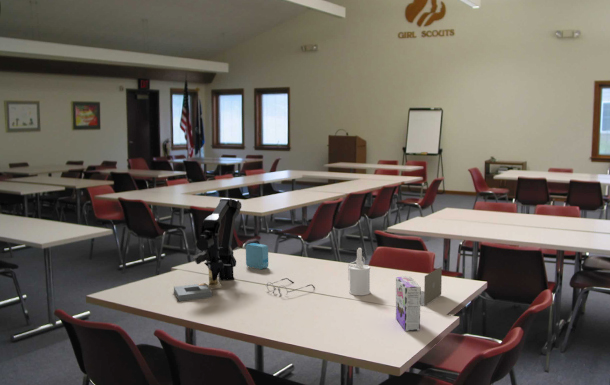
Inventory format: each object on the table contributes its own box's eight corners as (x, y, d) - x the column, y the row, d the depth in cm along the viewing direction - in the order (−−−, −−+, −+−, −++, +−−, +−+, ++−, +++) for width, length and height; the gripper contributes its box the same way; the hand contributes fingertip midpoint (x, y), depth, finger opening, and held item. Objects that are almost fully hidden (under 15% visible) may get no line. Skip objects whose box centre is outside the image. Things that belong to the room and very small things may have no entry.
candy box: (395, 318, 215) (395, 276, 213) (410, 317, 215) (410, 275, 213) (404, 331, 201) (404, 286, 199) (420, 331, 202) (421, 286, 200)
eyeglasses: (262, 291, 252) (262, 280, 252) (291, 283, 266) (291, 272, 265) (288, 299, 242) (288, 287, 241) (317, 289, 255) (317, 278, 255)
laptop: (414, 291, 251) (414, 262, 249) (441, 296, 243) (442, 266, 242) (396, 302, 236) (397, 271, 234) (425, 307, 229) (425, 276, 227)
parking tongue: (218, 284, 263) (218, 281, 263) (221, 287, 258) (221, 284, 257) (205, 286, 261) (205, 282, 261) (208, 289, 255) (208, 286, 255)
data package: (268, 268, 293) (268, 245, 291) (262, 269, 289) (262, 246, 288) (251, 264, 300) (251, 242, 299) (245, 266, 297) (245, 243, 295)
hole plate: (205, 288, 257) (205, 282, 257) (211, 297, 244) (211, 291, 244) (174, 292, 252) (173, 286, 252) (179, 301, 239) (178, 294, 239)
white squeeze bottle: (374, 292, 249) (374, 247, 246) (361, 297, 242) (361, 251, 239) (355, 287, 256) (355, 244, 253) (342, 292, 249) (342, 247, 247)
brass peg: (216, 282, 262) (216, 265, 261) (218, 284, 258) (218, 267, 257) (208, 283, 260) (207, 266, 259) (209, 285, 257) (209, 268, 256)
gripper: (190, 243, 263) (191, 276, 265) (198, 251, 245) (199, 286, 247) (214, 241, 267) (215, 273, 269) (223, 249, 249) (224, 284, 251)
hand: (213, 279), depth 259 cm, fingers closed on brass peg, 4 cm apart
